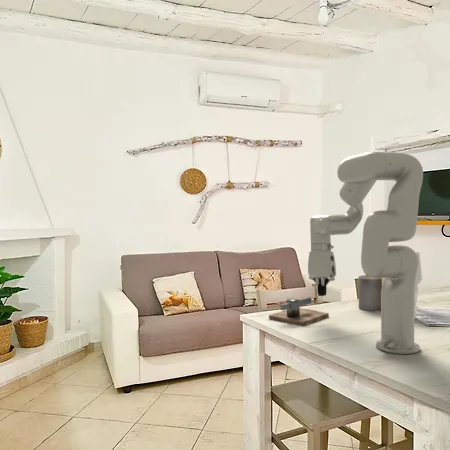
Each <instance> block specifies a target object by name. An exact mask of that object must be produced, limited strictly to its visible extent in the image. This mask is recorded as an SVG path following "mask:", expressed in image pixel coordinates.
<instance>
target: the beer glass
mask: <svg viewBox="0 0 450 450" xmlns="http://www.w3.org/2000/svg"><path fill="white" fill-rule="evenodd" d="M418 286H419V284H417V279H415V299H414V320H416V319H417V311H416V310H415V308H416V306H417V301H418V296H419V295H418V294H419V287H418Z"/></svg>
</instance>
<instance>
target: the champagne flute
mask: <svg viewBox="0 0 450 450" xmlns="http://www.w3.org/2000/svg"><path fill="white" fill-rule="evenodd" d="M415 253H416V254H417V257H418V269H417V274H416V279H417V284H418V285H419V284H420V283H421V282H422V280H423V277H422V276H423V275H422V267H421V266H422V265H421V257H420V254H421V253H420V252H418V251H415ZM415 310H416V312H417V311H418V312H419V311H422V308H421V307H419V306H417V305H416V308H415Z"/></svg>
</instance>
